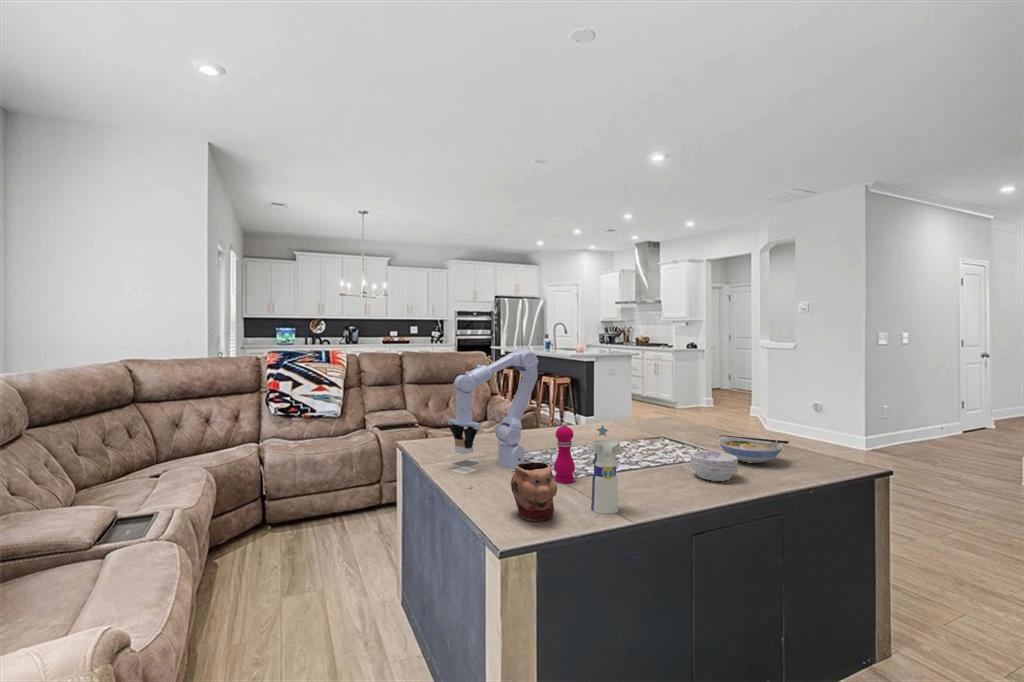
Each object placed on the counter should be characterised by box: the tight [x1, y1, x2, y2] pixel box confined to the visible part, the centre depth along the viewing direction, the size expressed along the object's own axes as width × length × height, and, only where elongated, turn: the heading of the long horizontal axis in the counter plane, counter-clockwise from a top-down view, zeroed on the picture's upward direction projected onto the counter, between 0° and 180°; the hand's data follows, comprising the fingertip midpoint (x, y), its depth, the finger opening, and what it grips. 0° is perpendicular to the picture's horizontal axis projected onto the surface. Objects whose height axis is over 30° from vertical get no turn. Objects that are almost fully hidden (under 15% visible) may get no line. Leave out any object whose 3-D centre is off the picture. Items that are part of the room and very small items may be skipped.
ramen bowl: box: [718, 434, 790, 464], centre depth 195 cm, size 25×23×8 cm
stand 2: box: [450, 466, 478, 475], centre depth 178 cm, size 7×7×1 cm
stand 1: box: [452, 459, 479, 468], centre depth 187 cm, size 7×7×1 cm
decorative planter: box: [510, 461, 558, 522], centre depth 139 cm, size 20×12×14 cm, turn 23°
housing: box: [454, 435, 474, 455], centre depth 178 cm, size 4×4×5 cm
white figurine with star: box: [590, 424, 622, 515], centre depth 143 cm, size 8×9×25 cm
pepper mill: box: [553, 421, 576, 484], centre depth 170 cm, size 7×7×20 cm
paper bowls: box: [689, 450, 739, 482], centre depth 174 cm, size 15×15×8 cm
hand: (464, 446), depth 178 cm, fingers closed on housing, 4 cm apart
